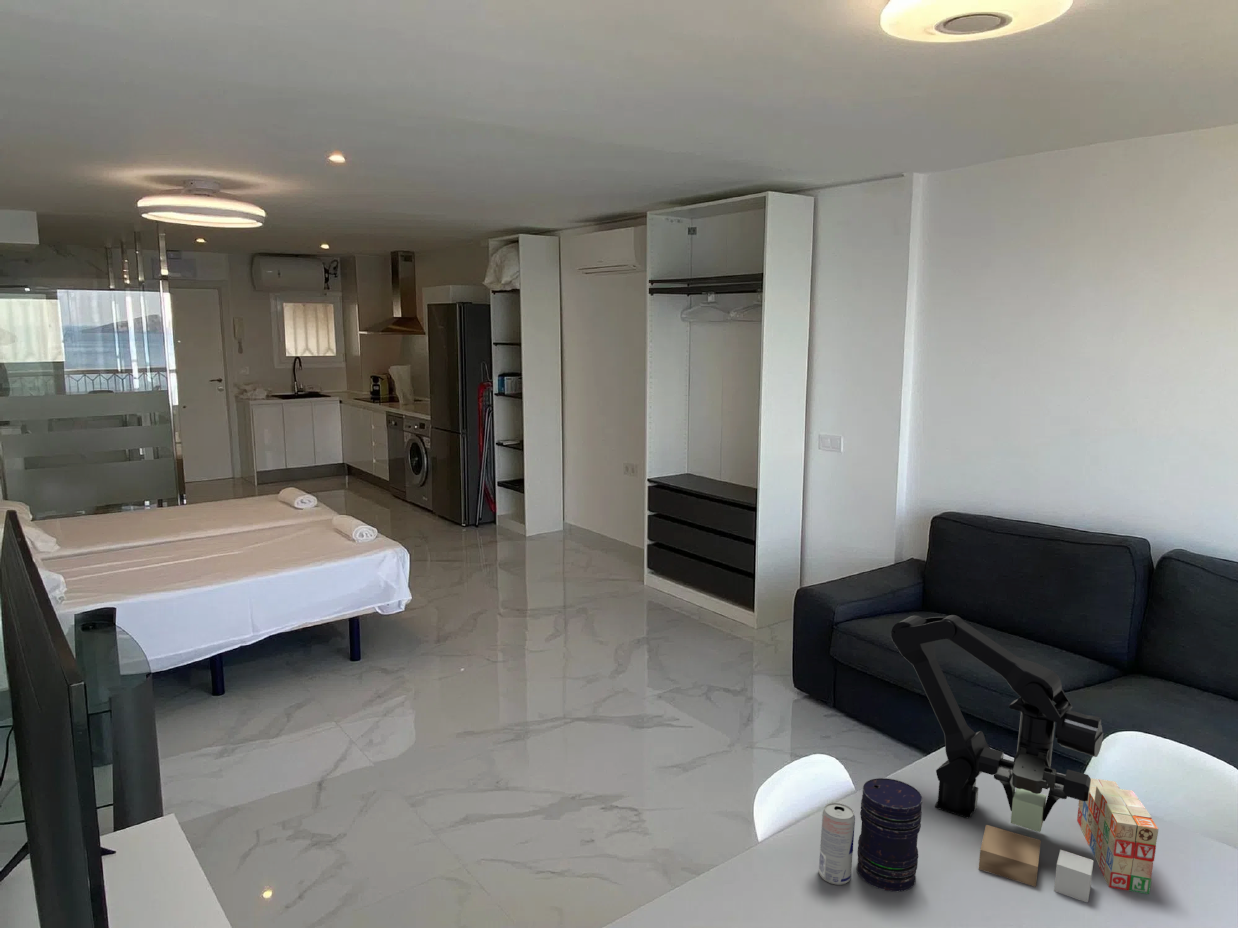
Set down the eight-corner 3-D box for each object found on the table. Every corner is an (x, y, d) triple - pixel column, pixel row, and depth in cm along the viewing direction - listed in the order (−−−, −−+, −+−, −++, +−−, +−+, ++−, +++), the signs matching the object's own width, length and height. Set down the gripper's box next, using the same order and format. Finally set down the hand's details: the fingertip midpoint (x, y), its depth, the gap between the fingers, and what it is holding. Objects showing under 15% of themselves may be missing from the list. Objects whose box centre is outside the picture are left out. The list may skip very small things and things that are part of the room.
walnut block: (978, 870, 142) (980, 849, 142) (984, 844, 150) (986, 824, 150) (1035, 888, 138) (1037, 866, 138) (1038, 860, 146) (1040, 840, 145)
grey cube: (1053, 891, 137) (1056, 863, 136) (1057, 875, 141) (1060, 849, 140) (1087, 902, 134) (1091, 875, 134) (1090, 887, 138) (1093, 860, 138)
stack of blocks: (1075, 820, 159) (1082, 761, 157) (1111, 826, 157) (1118, 766, 155) (1109, 888, 138) (1116, 820, 137) (1150, 895, 137) (1159, 827, 135)
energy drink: (851, 870, 141) (856, 805, 139) (849, 888, 136) (854, 822, 134) (820, 863, 143) (824, 799, 141) (817, 881, 138) (821, 815, 136)
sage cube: (1010, 822, 152) (1012, 797, 152) (1014, 811, 156) (1017, 786, 156) (1040, 832, 150) (1042, 806, 149) (1043, 819, 154) (1046, 795, 153)
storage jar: (925, 873, 141) (932, 793, 139) (901, 900, 134) (908, 815, 132) (871, 848, 147) (877, 771, 145) (845, 873, 140) (851, 792, 138)
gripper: (973, 738, 149) (966, 817, 151) (1089, 769, 139) (1080, 854, 141) (984, 717, 158) (978, 792, 161) (1095, 745, 148) (1086, 824, 150)
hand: (1027, 815), depth 153 cm, fingers closed on sage cube, 5 cm apart
